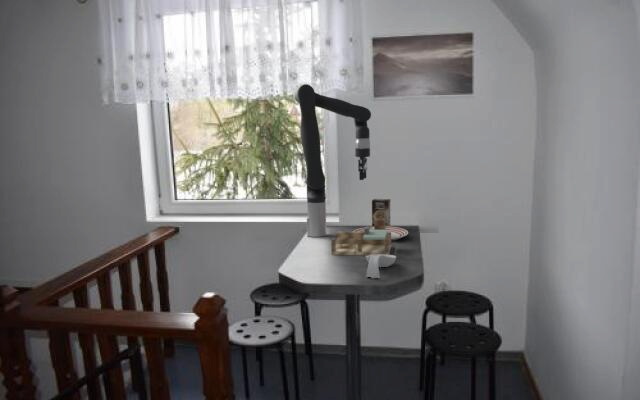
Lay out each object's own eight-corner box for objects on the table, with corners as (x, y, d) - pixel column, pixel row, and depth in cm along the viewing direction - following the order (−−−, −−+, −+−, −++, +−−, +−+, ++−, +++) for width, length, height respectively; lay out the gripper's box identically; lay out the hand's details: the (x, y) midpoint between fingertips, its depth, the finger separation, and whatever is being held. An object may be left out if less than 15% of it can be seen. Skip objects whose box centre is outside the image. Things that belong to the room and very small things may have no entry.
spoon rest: (368, 261, 200) (368, 244, 199) (397, 262, 197) (397, 245, 196) (357, 278, 177) (356, 259, 176) (390, 280, 174) (390, 260, 173)
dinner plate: (407, 244, 228) (407, 237, 227) (348, 244, 233) (348, 237, 233) (409, 232, 254) (408, 226, 254) (355, 232, 260) (355, 226, 259)
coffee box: (371, 230, 261) (371, 200, 259) (374, 228, 268) (373, 198, 265) (388, 231, 259) (388, 200, 257) (390, 228, 265) (390, 198, 263)
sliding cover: (363, 239, 207) (362, 231, 206) (367, 231, 222) (367, 224, 222) (384, 239, 205) (384, 231, 204) (387, 231, 220) (387, 224, 220)
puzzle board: (331, 255, 210) (331, 239, 209) (338, 247, 226) (337, 231, 225) (388, 257, 205) (388, 240, 204) (391, 247, 221) (391, 232, 220)
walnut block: (374, 232, 241) (374, 220, 240) (375, 230, 246) (375, 218, 245) (384, 232, 240) (384, 220, 239) (385, 230, 245) (385, 218, 244)
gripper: (357, 147, 262) (357, 177, 264) (353, 148, 248) (353, 180, 250) (371, 146, 260) (371, 177, 262) (368, 147, 246) (368, 180, 248)
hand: (362, 179), depth 256 cm, fingers open, 8 cm apart
